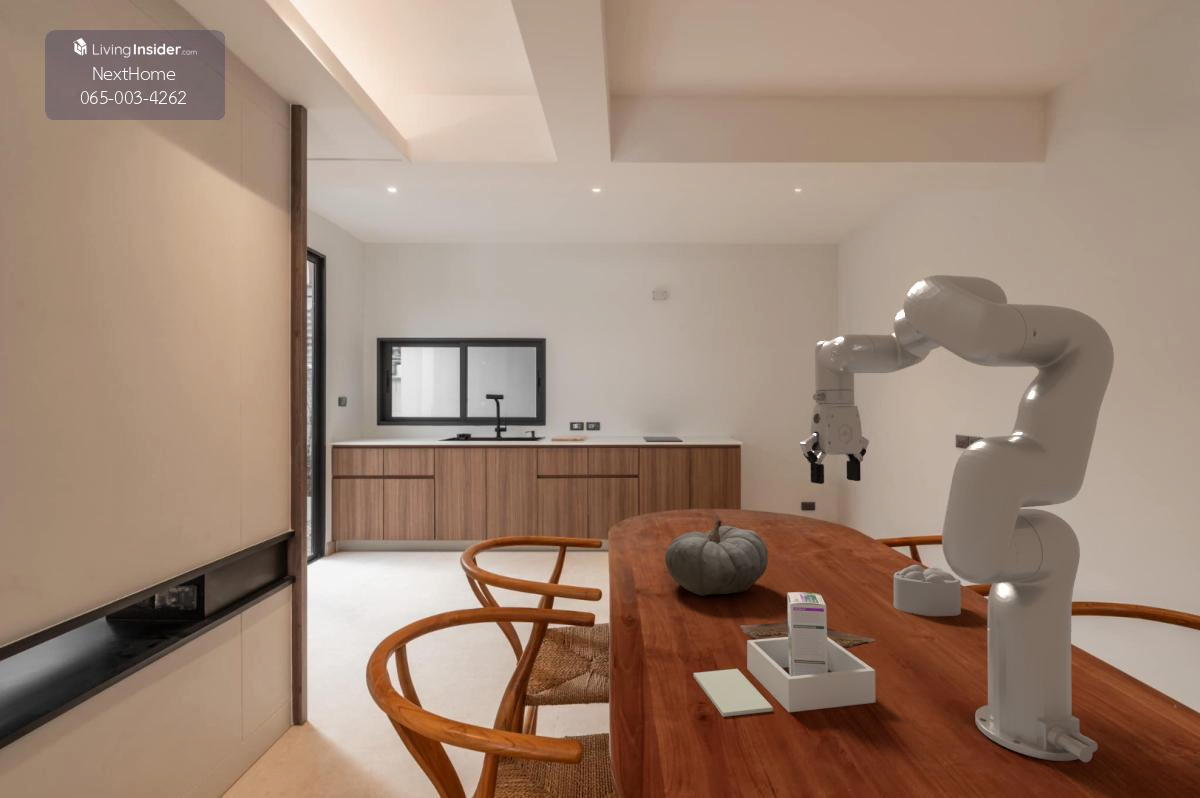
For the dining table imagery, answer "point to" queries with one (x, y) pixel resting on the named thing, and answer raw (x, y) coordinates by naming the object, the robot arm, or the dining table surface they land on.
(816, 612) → the syrup box
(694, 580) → the gourd
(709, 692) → the mat
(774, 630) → the wooden fragment
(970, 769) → the dining table surface
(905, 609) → the lumpy-topped squat cylinder
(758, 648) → the square frame
